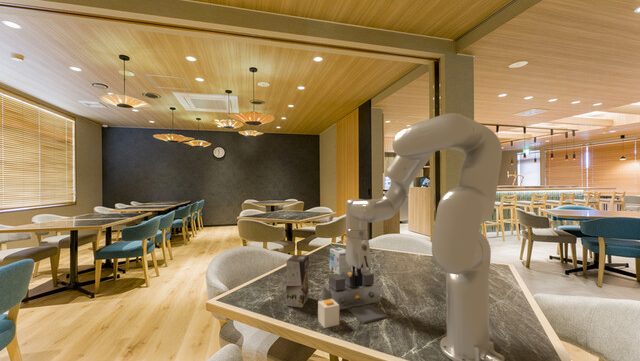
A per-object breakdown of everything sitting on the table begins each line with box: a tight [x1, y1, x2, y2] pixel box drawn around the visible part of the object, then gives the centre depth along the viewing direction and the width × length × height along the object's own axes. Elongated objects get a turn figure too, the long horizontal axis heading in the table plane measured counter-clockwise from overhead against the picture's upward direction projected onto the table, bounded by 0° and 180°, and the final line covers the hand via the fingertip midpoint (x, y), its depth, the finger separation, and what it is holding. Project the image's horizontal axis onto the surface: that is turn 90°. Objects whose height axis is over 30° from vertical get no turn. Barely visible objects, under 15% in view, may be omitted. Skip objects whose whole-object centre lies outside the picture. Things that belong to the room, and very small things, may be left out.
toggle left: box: [328, 273, 345, 291], centre depth 96 cm, size 6×4×4 cm, turn 23°
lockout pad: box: [348, 304, 388, 324], centre depth 88 cm, size 9×9×1 cm
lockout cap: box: [317, 299, 340, 329], centre depth 83 cm, size 5×5×7 cm
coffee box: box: [285, 254, 310, 308], centre depth 98 cm, size 9×6×16 cm
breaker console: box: [321, 281, 381, 311], centre depth 98 cm, size 8×20×6 cm, turn 113°
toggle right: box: [362, 270, 375, 285], centre depth 100 cm, size 6×4×4 cm, turn 23°
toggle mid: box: [341, 271, 354, 287], centre depth 99 cm, size 6×4×4 cm, turn 23°
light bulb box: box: [329, 247, 351, 276], centre depth 132 cm, size 11×7×11 cm, turn 25°
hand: (357, 285), depth 94 cm, fingers closed
